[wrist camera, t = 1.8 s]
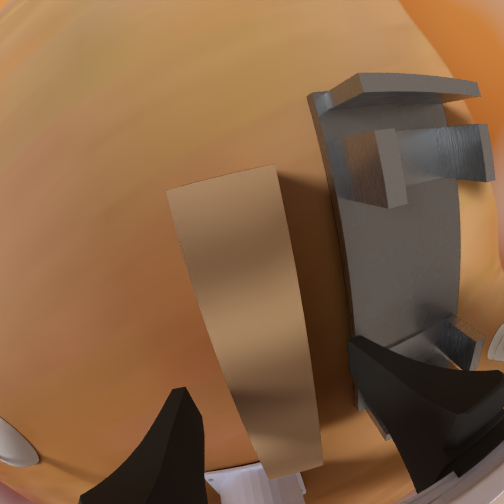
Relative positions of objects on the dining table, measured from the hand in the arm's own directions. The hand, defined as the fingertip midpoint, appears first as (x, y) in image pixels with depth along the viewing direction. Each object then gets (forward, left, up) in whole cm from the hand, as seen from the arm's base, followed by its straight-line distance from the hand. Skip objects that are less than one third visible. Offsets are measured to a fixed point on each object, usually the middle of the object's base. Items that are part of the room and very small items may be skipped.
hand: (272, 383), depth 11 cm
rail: (0, 0, -5) cm, 5 cm away
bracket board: (+1, -10, -4) cm, 11 cm away
